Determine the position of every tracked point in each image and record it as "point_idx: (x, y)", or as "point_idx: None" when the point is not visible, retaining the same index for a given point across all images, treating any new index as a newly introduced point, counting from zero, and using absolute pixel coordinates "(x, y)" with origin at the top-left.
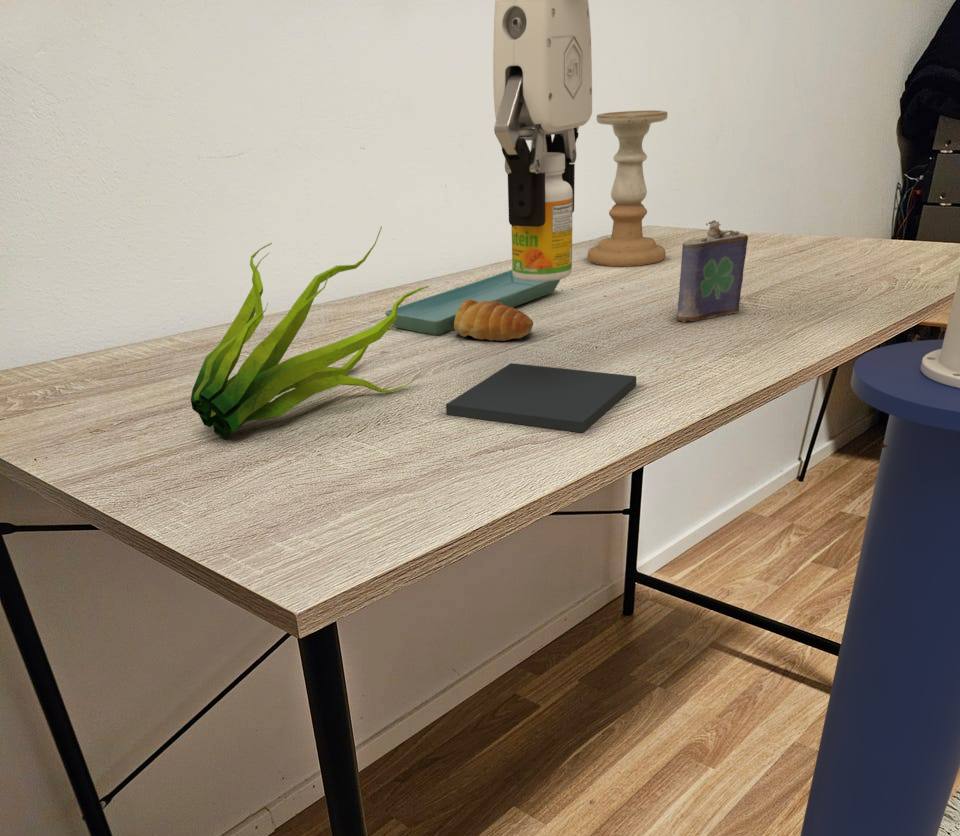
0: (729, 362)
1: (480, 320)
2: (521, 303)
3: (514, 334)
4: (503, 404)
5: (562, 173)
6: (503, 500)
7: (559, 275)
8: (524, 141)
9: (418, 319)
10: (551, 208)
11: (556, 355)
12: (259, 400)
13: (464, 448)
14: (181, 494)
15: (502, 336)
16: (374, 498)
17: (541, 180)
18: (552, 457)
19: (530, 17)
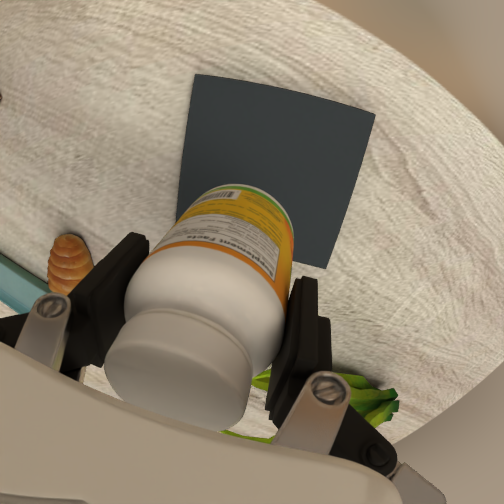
0: (102, 4)
1: None
2: (8, 259)
3: (83, 247)
4: (323, 211)
5: (107, 307)
6: None
7: (275, 200)
8: (374, 468)
9: None
10: (276, 280)
11: (111, 191)
12: (376, 393)
13: (415, 228)
14: (460, 373)
15: (89, 257)
16: (496, 271)
17: (314, 350)
18: (438, 141)
19: None
